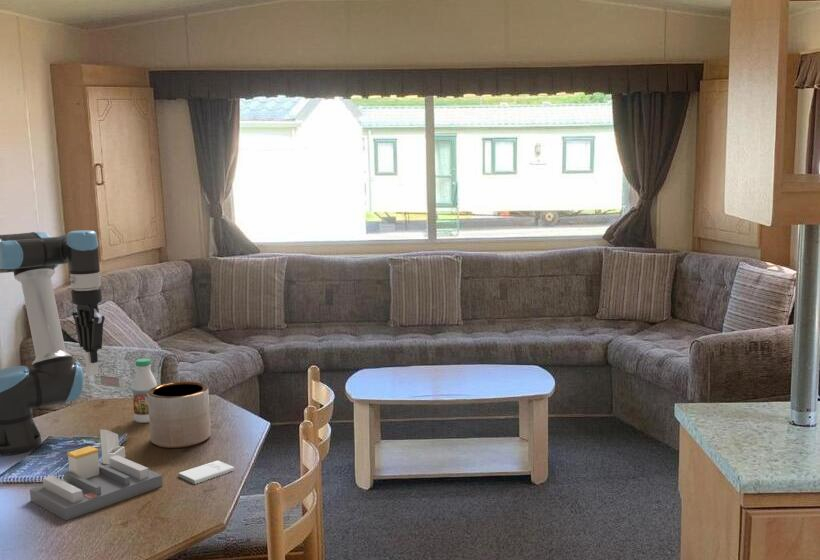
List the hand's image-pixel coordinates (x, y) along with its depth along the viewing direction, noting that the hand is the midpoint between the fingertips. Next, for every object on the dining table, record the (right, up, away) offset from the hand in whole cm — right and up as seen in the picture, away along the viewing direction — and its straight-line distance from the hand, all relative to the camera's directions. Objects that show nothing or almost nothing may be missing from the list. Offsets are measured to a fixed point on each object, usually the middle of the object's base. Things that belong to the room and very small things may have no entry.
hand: (92, 373), depth 225 cm
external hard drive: (+32, -27, -2) cm, 42 cm away
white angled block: (+3, -26, +8) cm, 27 cm away
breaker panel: (+7, -29, -14) cm, 33 cm away
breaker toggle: (+2, -25, -11) cm, 28 cm away
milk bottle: (+1, -20, +44) cm, 48 cm away
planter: (+17, -23, +25) cm, 38 cm away
